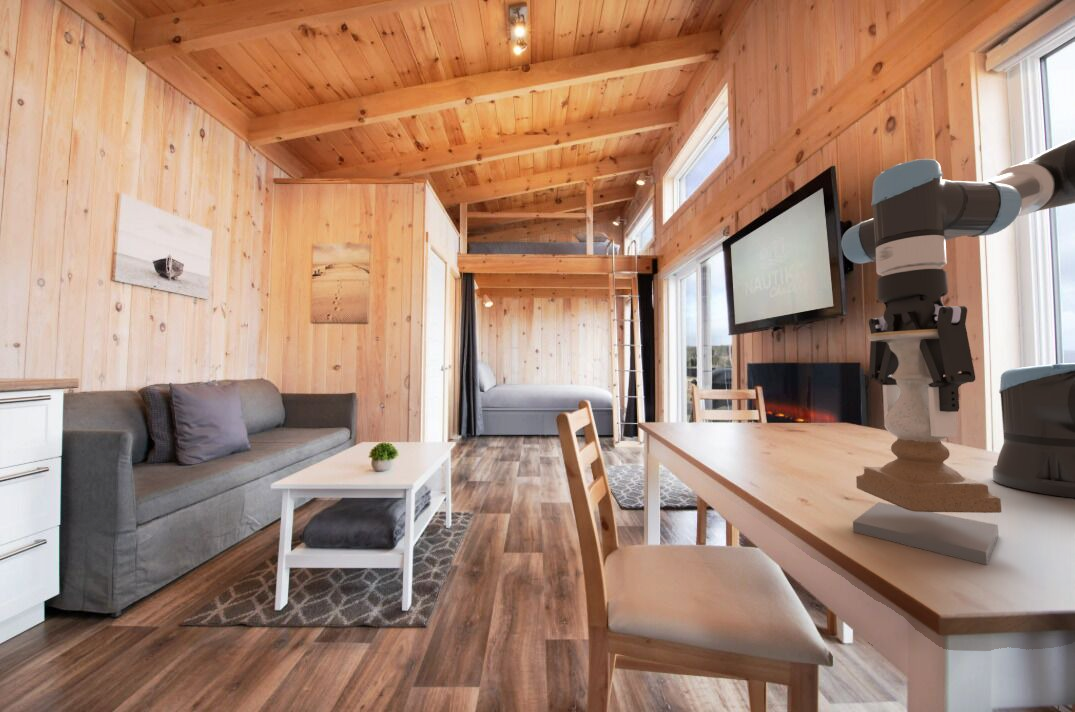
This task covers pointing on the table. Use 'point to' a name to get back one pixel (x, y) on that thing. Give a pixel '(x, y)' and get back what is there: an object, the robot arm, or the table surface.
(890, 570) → the table surface
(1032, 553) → the table surface
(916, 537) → the slate tile
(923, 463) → the candle holder
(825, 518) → the table surface
